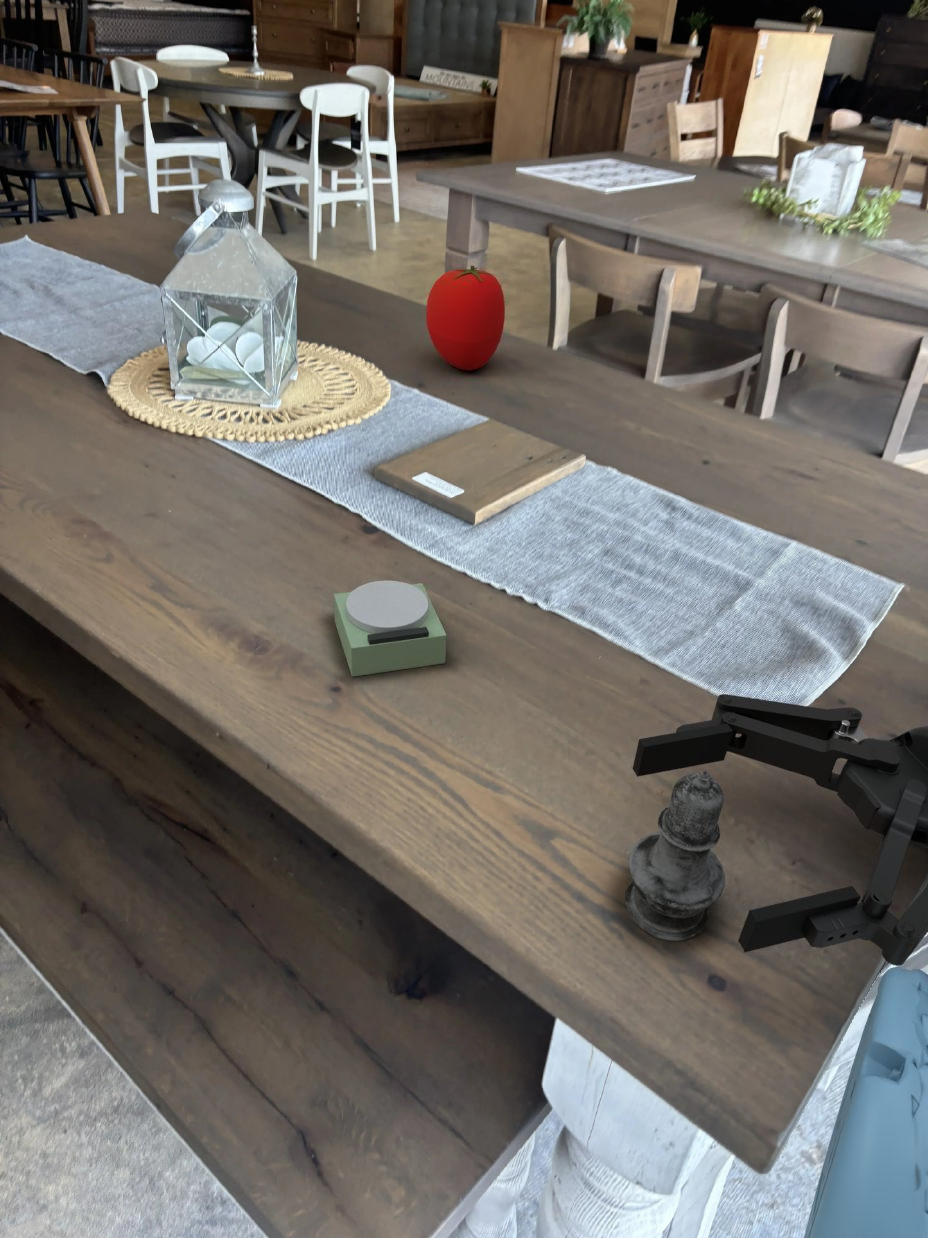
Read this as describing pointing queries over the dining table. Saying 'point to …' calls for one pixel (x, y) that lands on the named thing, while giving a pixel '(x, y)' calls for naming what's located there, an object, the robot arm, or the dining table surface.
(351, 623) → the scale
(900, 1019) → the robot arm
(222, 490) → the dining table surface
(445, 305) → the tomato
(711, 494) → the dining table surface
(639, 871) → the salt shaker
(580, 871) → the dining table surface
